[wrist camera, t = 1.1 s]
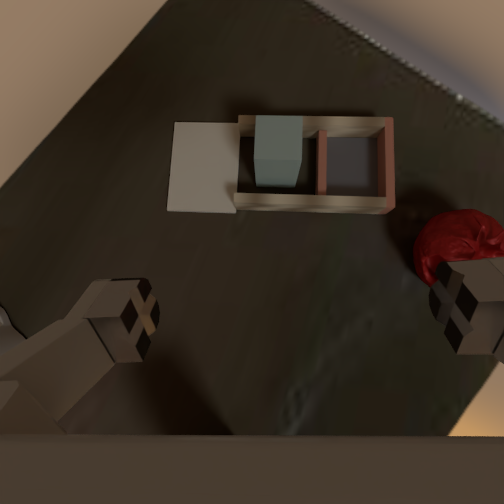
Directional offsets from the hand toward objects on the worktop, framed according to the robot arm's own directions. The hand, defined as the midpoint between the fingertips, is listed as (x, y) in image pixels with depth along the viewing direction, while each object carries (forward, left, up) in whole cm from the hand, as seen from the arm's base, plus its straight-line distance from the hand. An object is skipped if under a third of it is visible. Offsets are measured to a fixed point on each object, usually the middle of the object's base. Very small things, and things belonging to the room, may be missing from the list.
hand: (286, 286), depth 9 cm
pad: (-9, +16, -29) cm, 35 cm away
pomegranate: (+21, +5, -29) cm, 36 cm away
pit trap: (+10, +16, -29) cm, 35 cm away
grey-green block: (0, +16, -29) cm, 33 cm away
